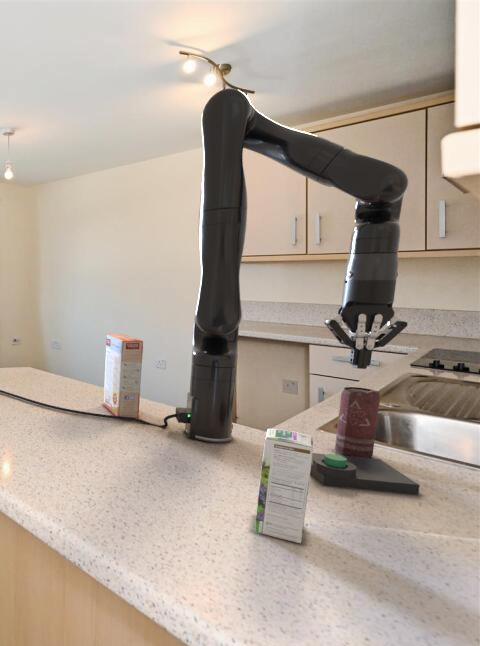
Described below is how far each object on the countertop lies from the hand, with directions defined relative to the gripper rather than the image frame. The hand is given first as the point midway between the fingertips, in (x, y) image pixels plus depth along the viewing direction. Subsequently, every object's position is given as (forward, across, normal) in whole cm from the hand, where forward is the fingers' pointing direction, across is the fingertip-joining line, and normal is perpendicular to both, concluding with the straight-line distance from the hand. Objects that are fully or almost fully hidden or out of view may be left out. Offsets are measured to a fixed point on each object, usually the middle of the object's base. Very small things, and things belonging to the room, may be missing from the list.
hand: (359, 367), depth 91 cm
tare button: (+16, +7, +11) cm, 21 cm away
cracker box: (+20, +43, -25) cm, 53 cm away
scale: (+20, +2, +7) cm, 21 cm away
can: (+20, -4, -6) cm, 21 cm away
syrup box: (+20, +22, +32) cm, 44 cm away
